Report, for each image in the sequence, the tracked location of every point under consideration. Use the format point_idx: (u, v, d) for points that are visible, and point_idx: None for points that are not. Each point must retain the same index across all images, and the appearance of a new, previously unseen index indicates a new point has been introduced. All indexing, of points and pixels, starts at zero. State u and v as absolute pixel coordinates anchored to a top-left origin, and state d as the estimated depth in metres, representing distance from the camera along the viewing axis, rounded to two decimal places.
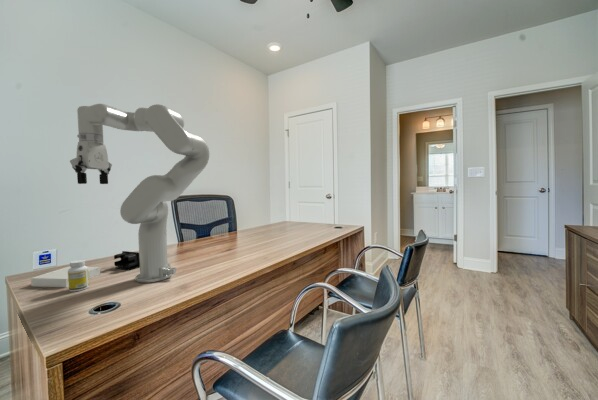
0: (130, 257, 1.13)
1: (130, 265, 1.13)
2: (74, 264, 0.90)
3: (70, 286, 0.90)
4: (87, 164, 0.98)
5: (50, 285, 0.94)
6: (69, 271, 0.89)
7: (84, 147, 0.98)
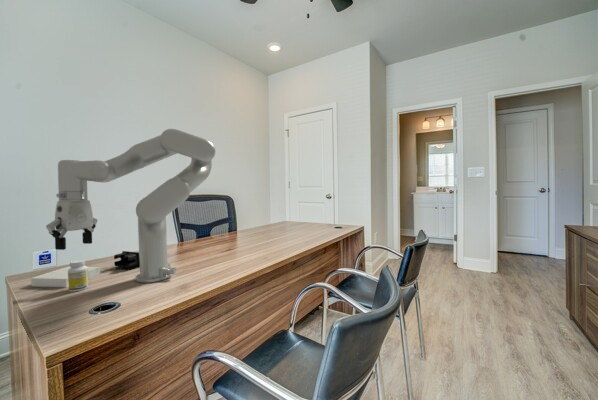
0: (130, 257, 1.13)
1: (130, 265, 1.13)
2: (74, 264, 0.90)
3: (70, 286, 0.90)
4: (67, 227, 0.86)
5: (50, 285, 0.94)
6: (69, 271, 0.89)
7: (64, 208, 0.86)
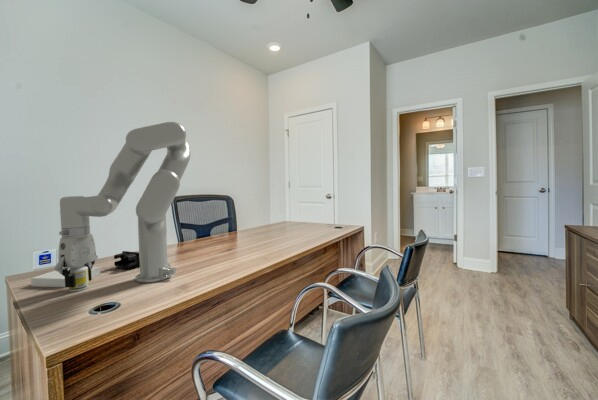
0: (130, 257, 1.13)
1: (130, 265, 1.13)
2: None
3: None
4: (70, 264, 0.87)
5: (50, 285, 0.94)
6: None
7: (67, 245, 0.87)
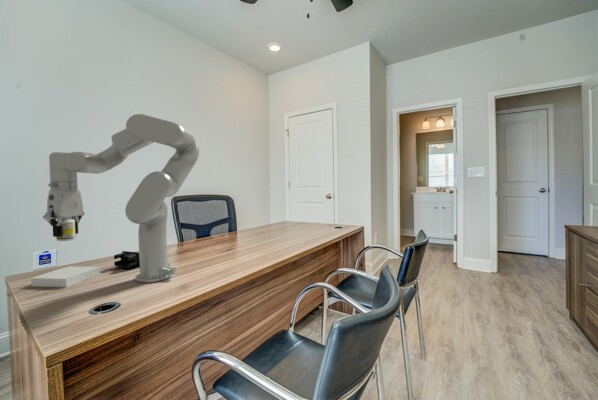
0: (130, 257, 1.13)
1: (130, 265, 1.13)
2: None
3: None
4: (58, 214, 0.93)
5: (50, 285, 0.94)
6: None
7: (55, 196, 0.93)
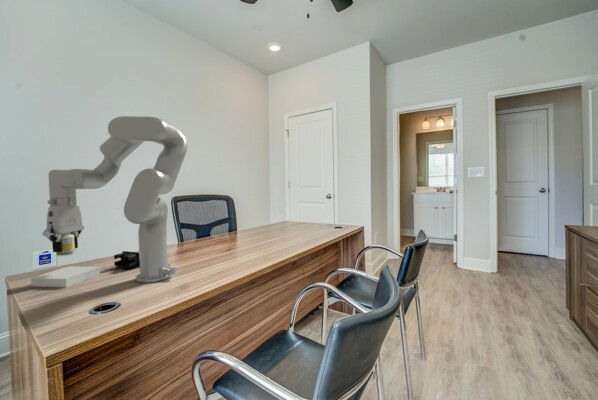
0: (130, 257, 1.13)
1: (130, 265, 1.13)
2: None
3: None
4: (57, 231, 0.96)
5: (50, 285, 0.94)
6: None
7: (54, 213, 0.95)
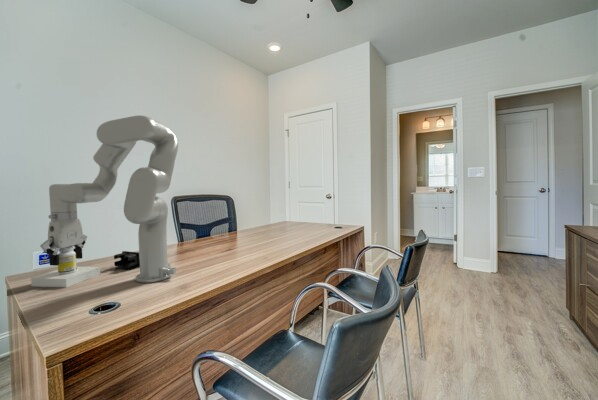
0: (130, 257, 1.13)
1: (130, 265, 1.13)
2: (62, 249, 0.99)
3: (59, 269, 0.99)
4: (59, 245, 0.96)
5: (50, 285, 0.94)
6: None
7: (55, 228, 0.96)
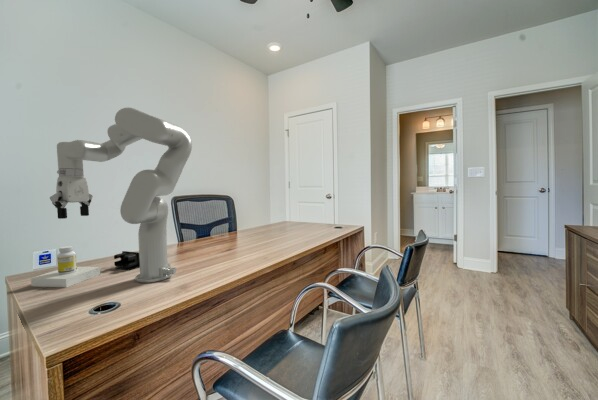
0: (130, 257, 1.13)
1: (130, 265, 1.13)
2: (62, 249, 0.99)
3: (59, 269, 0.99)
4: (67, 199, 1.00)
5: (50, 285, 0.94)
6: (58, 255, 0.99)
7: (64, 183, 1.00)
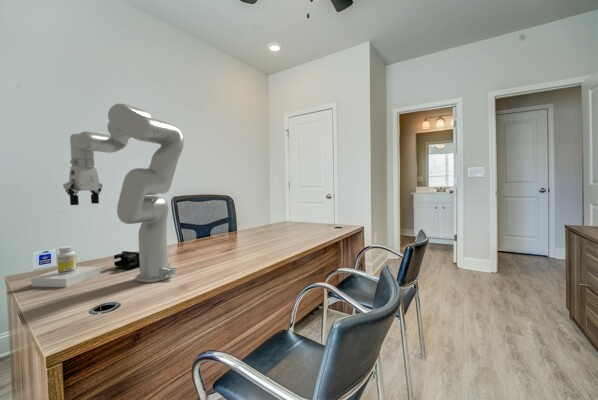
0: (130, 257, 1.13)
1: (130, 265, 1.13)
2: (62, 249, 0.99)
3: (59, 269, 0.99)
4: (79, 187, 1.08)
5: (50, 285, 0.94)
6: (58, 255, 0.99)
7: (76, 172, 1.08)
